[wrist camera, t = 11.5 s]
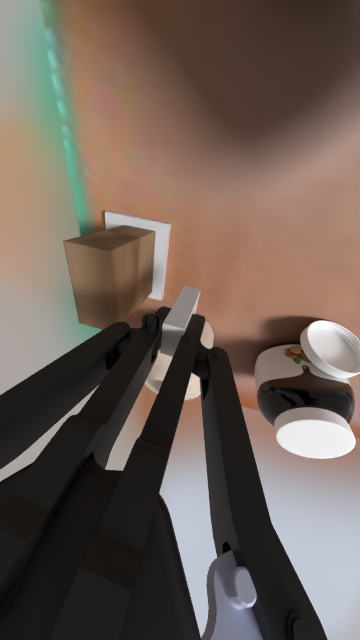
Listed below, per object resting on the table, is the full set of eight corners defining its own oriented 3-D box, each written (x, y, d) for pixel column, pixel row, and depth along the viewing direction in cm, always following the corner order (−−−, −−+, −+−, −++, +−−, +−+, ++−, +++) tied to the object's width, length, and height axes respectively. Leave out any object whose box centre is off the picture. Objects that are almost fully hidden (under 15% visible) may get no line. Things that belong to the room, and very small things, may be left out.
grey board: (109, 210, 24) (104, 211, 23) (171, 223, 23) (168, 224, 22) (113, 284, 30) (109, 287, 29) (163, 297, 29) (160, 300, 28)
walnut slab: (125, 285, 28) (79, 323, 20) (124, 224, 23) (63, 241, 15) (152, 292, 27) (115, 333, 19) (155, 231, 23) (109, 251, 15)
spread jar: (253, 377, 32) (259, 452, 23) (251, 319, 27) (257, 387, 18) (341, 380, 29) (391, 472, 19) (358, 313, 23) (441, 396, 14)
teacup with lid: (211, 306, 28) (196, 365, 18) (218, 355, 32) (210, 423, 22) (137, 312, 31) (92, 363, 22) (152, 355, 36) (121, 413, 26)
